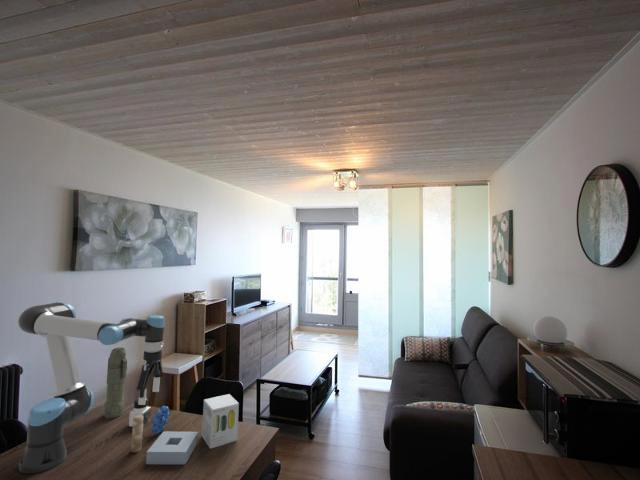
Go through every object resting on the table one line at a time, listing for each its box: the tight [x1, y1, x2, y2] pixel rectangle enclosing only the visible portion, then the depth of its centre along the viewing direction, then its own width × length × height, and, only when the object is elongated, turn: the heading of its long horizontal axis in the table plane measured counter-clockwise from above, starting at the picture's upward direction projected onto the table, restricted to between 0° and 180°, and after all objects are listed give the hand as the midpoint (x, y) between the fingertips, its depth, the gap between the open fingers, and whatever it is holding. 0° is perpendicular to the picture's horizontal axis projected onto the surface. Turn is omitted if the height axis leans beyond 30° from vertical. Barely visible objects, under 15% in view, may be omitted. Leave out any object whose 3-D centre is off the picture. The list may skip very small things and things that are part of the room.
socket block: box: [145, 430, 199, 465], centre depth 144 cm, size 16×16×5 cm
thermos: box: [103, 347, 128, 420], centre depth 176 cm, size 9×12×35 cm
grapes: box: [150, 405, 171, 436], centre depth 160 cm, size 12×7×12 cm, turn 169°
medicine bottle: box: [128, 398, 152, 428], centre depth 168 cm, size 7×7×12 cm
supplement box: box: [201, 393, 240, 449], centre depth 157 cm, size 13×13×18 cm
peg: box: [130, 415, 144, 453], centre depth 145 cm, size 4×4×14 cm
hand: (149, 397), depth 147 cm, fingers open, 13 cm apart
